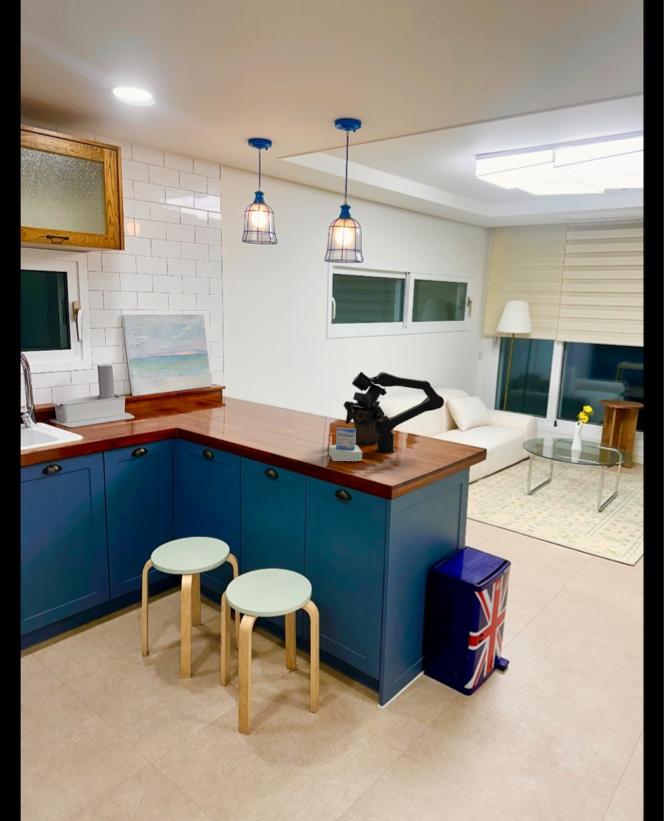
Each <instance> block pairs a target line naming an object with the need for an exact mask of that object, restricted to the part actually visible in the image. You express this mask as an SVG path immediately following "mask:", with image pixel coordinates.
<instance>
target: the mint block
mask: <svg viewBox="0 0 664 821" xmlns="http://www.w3.org/2000/svg"><path fill="white" fill-rule="evenodd" d="M328 454H329V455H328V456H331V457H330V459H331V458H332V459H331V460H333V461H348V462H349V461H352V463H353V461H355V463H356V461H363V451H362V450H361V448H360V447H359V445H355V449H354V450H342V449H336V444H333V445H332V444H329V445H328ZM333 461H332V462H333ZM348 462H347V463H348ZM349 463H350V462H349Z"/></svg>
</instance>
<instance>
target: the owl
mask: <svg viewBox="0 0 664 821" xmlns="http://www.w3.org/2000/svg"><path fill="white" fill-rule="evenodd" d="M376 402H377V405H374V406H379V407H381V406H380V403H381V401H380V400H377V401H376ZM354 404H355V405H356V406H359V404H357V401H355V402H354ZM368 415H369V413H366V412H362V411H357V413H356V414H355V416H354V418H353V419H352V421H353V424H354V427H353V428H356V441H355V444H356V445H357V446H362V445H365V446H372V445H373V444H375V445H377V440H378V436H380V434H378V433H377V431H376V429H375V424H376V422H377V421H378V420H377V421H375V422H373V423H372V424H370V425H368V426H367V427H365V428H363V425H364V422H365V421H366V419H367V417H368ZM371 444H372V445H371Z"/></svg>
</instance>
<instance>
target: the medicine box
mask: <svg viewBox="0 0 664 821" xmlns="http://www.w3.org/2000/svg"><path fill="white" fill-rule="evenodd" d="M335 436H336V439H335V440H336V442H335V445H336V449H342V450H354V449H355V441H356V428H354V427H341V426H340V427H338V426H337V427H336V435H335Z"/></svg>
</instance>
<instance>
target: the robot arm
mask: <svg viewBox="0 0 664 821" xmlns="http://www.w3.org/2000/svg"><path fill="white" fill-rule="evenodd" d="M351 385H352V386H354V387H356V388H357V389H359V391H361V392H357V391H355V392H354V394H353V398H352V399H353V400H354V401H355V402H356V403H357V404H359V406H356V405H355V402H354V401H350V400H349V401H347V400H346V401H345V402H344V403H343V407H344V409H345V411H346V419H345V425H349V424H350V422H351V421H353V418H354V416H355V414H356V413H357V411H362V412H366V413H369V415H368V417H367V419H366V421H365V422H364V425H363V428H365V427H367V426H368V425H370V424H372V423H373V422H375V421H377V420H378V421H377V422H376V424H375V429H376V431H377V433H378V434H380V436H378V440H377V444H376V449H377V451H378V452H379V453H395V450H394V439H395V438H394V437H395V434H394V432H393V430H394V429H395V428H396V427H398V426H399V425H401V424H403V423H405V422H407V421H409V420H411V419H414V418H415V417H418V416H420V415H422V414H423V413H424V414H425V413H426V412H432V411H436V410H439V409H441V408H442V407H444V405H445V399H444V398H443V396H441V395H439V394H438V393H437V392H436V391H435V389H434V388H433V387H432V385H431V383H430V381H427V380H421V379H413V378H406V377H401V376H396V375H393V374H391V373H387V372H384V371H381V372H379V373H377V375H375V376H372V377H368V376H367V375H366V374H365V373H364V372H362V371H360V372H359V373H358V374H357V376H355V377H354V379H353V380H352V382H351ZM382 387H383V388H382ZM389 387H402V388H410V389H416V390H422V391H423V392H424V394H425V395H426V398H424V400H422V401H421V402H420V403H418V404H417V405H415V406H412V407H410V408H408V409H406V410H403V411H402V412H400V413H398V414H396V415H394V416H391V417H389V416H388V415H387V414H386V415H385V411H384V410H383V409H382V407H381V406H380V405H379V406H380V407H379V406H374V405H377V402H376V401H379V398H380V396H382V397H384V396H385V395H387V390H386V388H389ZM363 391H364V392H365V393H362V392H363Z"/></svg>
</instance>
